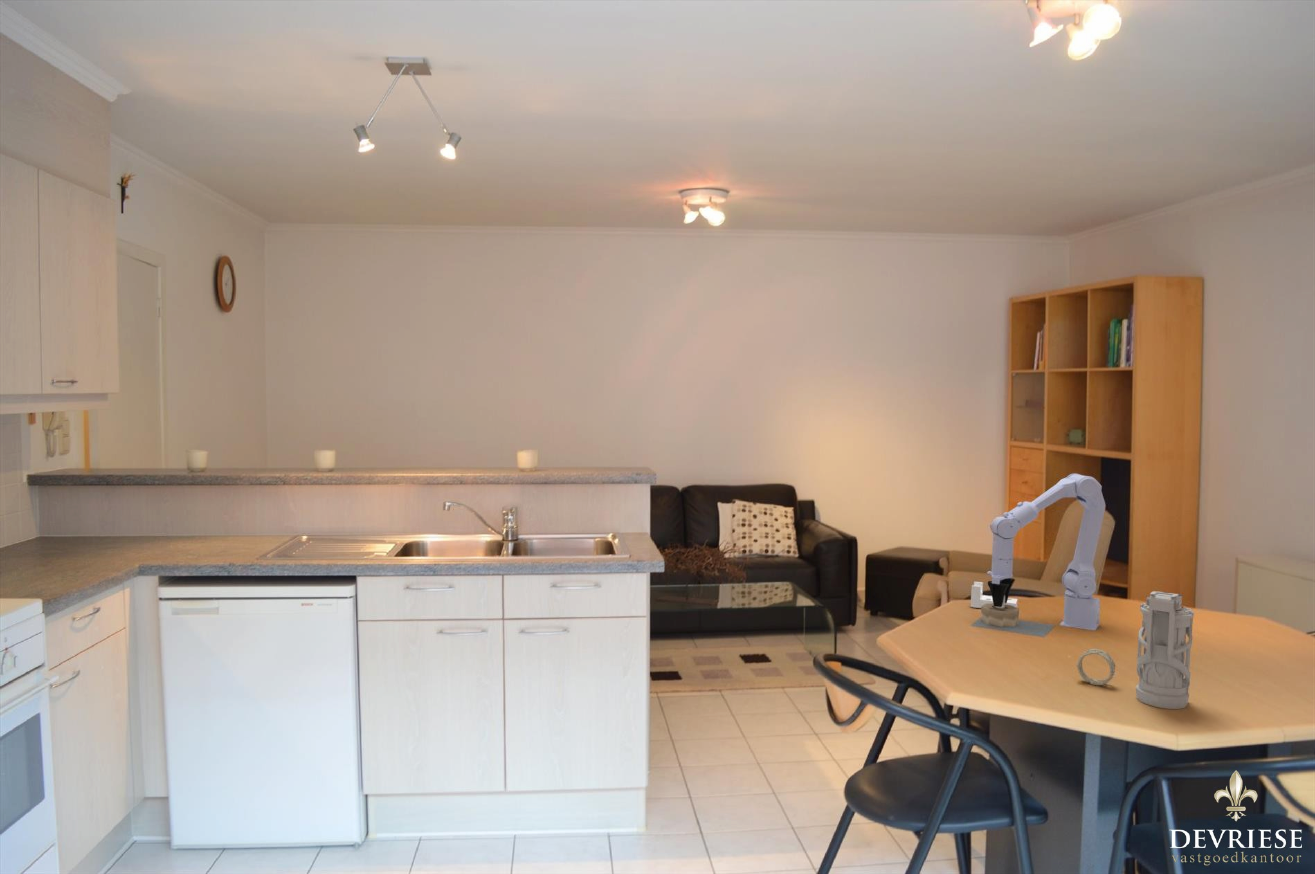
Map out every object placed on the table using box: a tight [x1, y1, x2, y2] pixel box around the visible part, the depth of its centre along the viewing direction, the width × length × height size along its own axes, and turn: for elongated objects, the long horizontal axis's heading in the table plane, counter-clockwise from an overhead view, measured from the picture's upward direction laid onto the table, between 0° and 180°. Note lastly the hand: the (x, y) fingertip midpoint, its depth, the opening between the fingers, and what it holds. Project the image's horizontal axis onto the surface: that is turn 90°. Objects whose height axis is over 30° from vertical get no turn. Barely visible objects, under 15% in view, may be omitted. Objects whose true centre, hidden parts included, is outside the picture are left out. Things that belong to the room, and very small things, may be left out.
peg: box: [995, 595, 1005, 609], centre depth 275 cm, size 3×3×8 cm
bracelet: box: [1076, 648, 1116, 686], centre depth 220 cm, size 4×8×8 cm, turn 54°
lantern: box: [1135, 590, 1195, 710], centre depth 207 cm, size 13×10×25 cm
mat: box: [970, 617, 1056, 638], centre depth 272 cm, size 20×16×1 cm
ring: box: [980, 603, 1020, 627], centre depth 275 cm, size 10×10×4 cm
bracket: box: [970, 581, 1018, 609], centre depth 293 cm, size 13×7×8 cm, turn 65°
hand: (1000, 604), depth 275 cm, fingers open, 5 cm apart
